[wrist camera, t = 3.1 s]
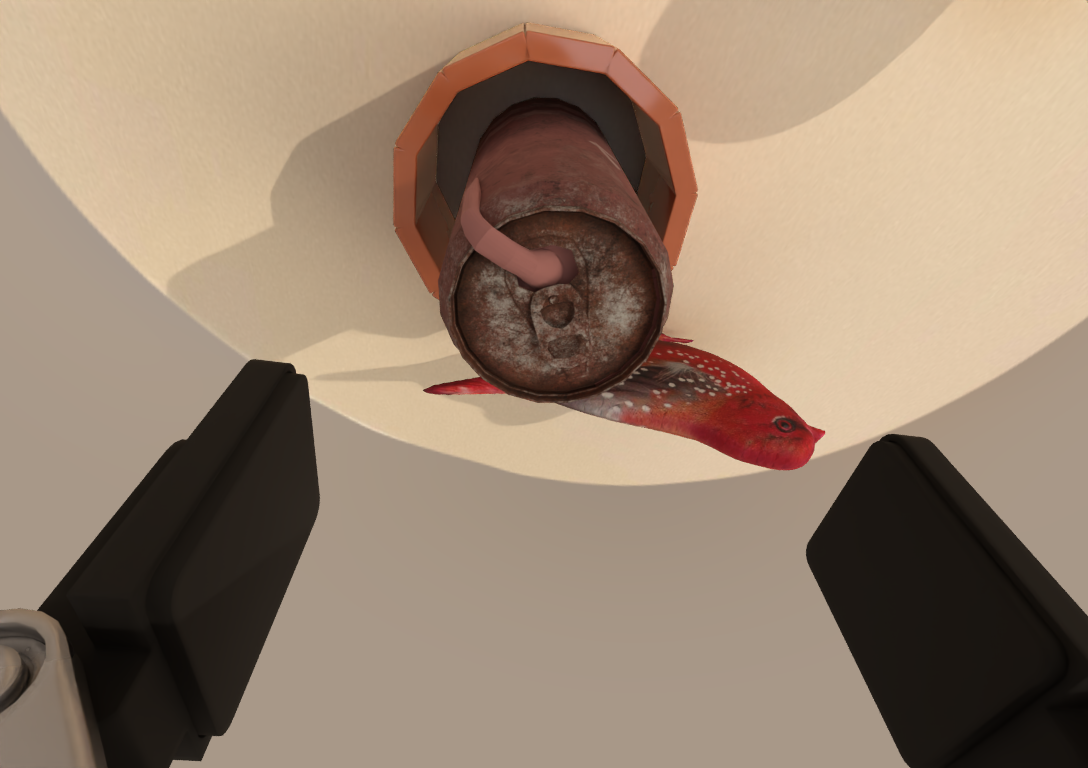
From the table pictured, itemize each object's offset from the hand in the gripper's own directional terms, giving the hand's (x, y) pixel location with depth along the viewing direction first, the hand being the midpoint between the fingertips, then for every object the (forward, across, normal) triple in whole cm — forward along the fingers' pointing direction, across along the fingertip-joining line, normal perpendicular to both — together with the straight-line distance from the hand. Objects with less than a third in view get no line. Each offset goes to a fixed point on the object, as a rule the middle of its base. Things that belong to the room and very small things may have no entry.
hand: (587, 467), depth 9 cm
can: (+20, +1, 0) cm, 20 cm away
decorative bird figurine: (+20, -4, +8) cm, 22 cm away
